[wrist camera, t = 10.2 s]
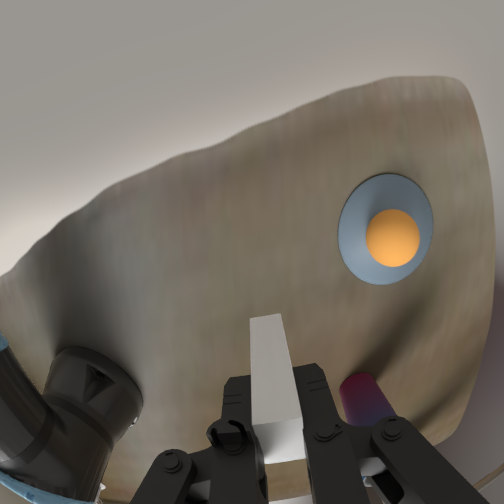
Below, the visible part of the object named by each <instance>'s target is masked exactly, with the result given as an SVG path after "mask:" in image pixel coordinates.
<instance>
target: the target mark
mask: <svg viewBox="0 0 504 504" xmlns="http://www.w3.org/2000/svg"><path fill="white" fill-rule="evenodd" d="M388 209H396V210H401V211H403V212H405V213H407V214H408V215H409V216H410V217H411V218H412V219H413V220H414V221H415V223H416V225H417V227H418V230H419V234H420V243H419V247H418V250H417V252H416V254H415V255H414V257H413V258H412V259H411V260H410V261H409V262H407V263H406V264H404V265H401V266H397V267H389V266H385V265H382V264H380V263H379V262H377V261H376V260H375V259H374V258H373V257H372V256H371V254H370V252H369V250H368V248H367V245H366V231H367V227H368V225H369V223H370V221H371V220H372V219H373V217H374V216H376V215H377V214H378V213H380V212H382V211H384V210H388ZM432 233H433V216H432V211H431V207H430V204H429V202H428V200H427V198H426V196H425V194H424V193H423V191H422V190H421V189H420V188H419V187H418V186H417V185H416V184H415V183H414V182H412V181H411V180H409V179H407V178H405V177H403V176H400V175H394V174H384V175H378V176H376V177H373V178H371V179H369V180H367V181H365V182H364V183H362V184H361V185H360V186H359V187H358V188H357V189H356V190H355V191H354V192H353V193H352V194H351V196H350V197H349V199H348V200H347V202H346V204H345V206H344V208H343V210H342V213H341V216H340V220H339V225H338V243H339V249H340V252H341V255H342V258H343V260H344V262H345V263H346V265H347V267H348V268H349V269H350V270H351V272H352V273H353V274H355V275H356V276H357V277H358V278H360V279H361V280H363V281H365V282H368V283H371V284H377V285H386V284H391V283H394V282H397V281H399V280H402V279H403V278H405V277H407V276H408V275H409V274H411V273H412V272H413V271H414V270H415V269H416V268H417V267H418V266H419V264H420V263H421V262H422V260H423V259H424V257H425V255H426V253H427V251H428V248H429V246H430V243H431V239H432Z"/></svg>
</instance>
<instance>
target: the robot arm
mask: <svg viewBox="0 0 504 504" xmlns="http://www.w3.org/2000/svg"><path fill="white" fill-rule="evenodd" d="M250 350H251V375H247V376H239V377H230V378H229V380H228V381H227V383H226V384H225V386H224V394H223V396H224V398H223V405H222V416H221V419H219V420H217V421H215V422H213V424H212V425H211V426H210V427H209V428H208V430H207V433H206V435H207V437H208V439H209V440H210V442H211V444H212V446H210V447H209V448H207V449H205V450H202V451H198V452H195V453H191V454H187V453H186V452H184V451H182V450H179V449H171V450H166V451H164V452H162V453H161V454H159V455H158V456H157V457H156V459H155V460H154V462H153V464H152V465H151V467H150V469H149V471H148V472H147V474H146V476H145V478H144V479H143V481H142V483H141V485H140V486H139V488H138V490H137V492H136V493H135V495H134V497H133V498H132V500H131V502H130V504H269V501H268V486H267V476H266V473H265V466H264V462H265V464H270V463H278V462H285V461H292V460H298V459H303V458H306V461H307V469H308V478H309V482H310V487H311V493H312V499H313V504H370V501H369V498H368V495H367V491H366V488H365V485H364V482H363V478H362V476H365V477H366V478H367V480H368V481H369V482H370V484H371V485H372V487H373V488H374V489H375V491H376V492H377V494H378V495H379V496H380V498H381V499H382V500H383V502H384V503H385V504H490V503H489V502H488V501H487V500H486V499H485V498H484V497H482V495H481V494H480V493H479V492H478V491H477V490H476V489H475V488H474V487H473V486H472V485H471V484H470V483H469V482H468V481H467V480H466V479H465V478H464V477H463V476H462V475H461V474H460V473H459V472H458V471H457V470H456V469H455V468H454V467H453V466H452V465H451V464H450V463H449V462H448V461H447V460H446V459H445V458H444V457H443V456H442V455H441V454H440V453H439V452H438V451H437V450H436V449H435V448H434V447H433V446H432V445H431V444H430V443H429V442H428V441H427V440H426V439H425V437H424V436H423V435H422V434H421V433H420V432H419V431H418V430H417V429H416V428H415V427H414V426H413V425H412V424H411V423H410V422H409V421H408V420H406V419H405V418H403V417H399V416H387V417H385V418H382V419H380V420H379V421H378V422H377V423H375V425H374V426H353V425H350V424H347V423H346V422H344V421H343V420H342V419H341V418H340V417H339V415H338V412H337V409H336V406H335V404H334V401H333V398H332V395H331V392H330V389H329V386H328V383H327V381H326V377H325V374H324V371H323V369H321V368H320V367H319V366H318V365H317V364H316V363H313V364H308V365H303V366H298V367H292V365H291V360H290V355H289V351H288V346H287V341H286V337H285V332H284V328H283V323H282V318H281V314H280V313H279V314H273V315H267V316H261V317H255V318H250ZM142 407H143V401H142V397H141V394H140V392H139V390H138V388H137V386H136V385H135V383H134V382H133V381H132V379H131V378H130V377H129V376H128V375H127V374H126V373H125V372H124V371H123V370H122V369H121V368H120V367H119V366H117V365H116V364H115V363H113V362H112V361H111V360H109V359H108V358H106V357H104V356H102V355H101V354H99V353H97V352H94V351H92V350H89V349H86V348H82V347H68V348H65V349H63V350H62V351H61V352H60V353H59V354H58V355H57V356H56V357H55V359H54V360H53V361H52V363H51V366H50V372H49V374H48V377H47V381H46V384H45V388H44V391H43V394H42V396H41V394H40V393H39V392H38V390H37V389H36V387H35V386H34V385H33V383H32V382H31V380H30V379H29V377H28V376H27V374H26V373H25V371H24V370H23V368H22V367H21V365H20V364H19V362H18V360H17V359H16V357H15V355H14V354H13V352H12V350H11V349H10V347H9V343H8V341H7V339H6V338H5V337H4V336H3V335H2V333H1V332H0V483H2V484H3V485H5V486H6V487H7V488H9V489H10V490H12V491H13V492H15V493H17V494H18V495H20V496H21V497H23V498H25V499H26V500H28V501H30V502H31V503H34V504H94V503H95V499H96V496H97V492H98V489H99V486H100V483H101V480H102V478H103V475H104V472H105V469H106V466H107V463H108V460H109V458H110V455H111V452H112V450H113V447H114V445H115V443H116V442H117V441H118V440H119V439H120V438H121V437H122V436H123V435H124V434H125V432H126V431H127V429H129V428H131V427H132V426H133V425H134V424H135V423H136V422H137V420H138V418H139V416H140V413H141V410H142Z"/></svg>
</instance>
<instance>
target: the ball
mask: <svg viewBox="0 0 504 504" xmlns="http://www.w3.org/2000/svg"><path fill="white" fill-rule="evenodd" d="M419 243H420V234H419V230H418V227H417V225H416V223H415V221H414V220H413V219H412V218H411V217H410V216H409V215H408V214H407V213H405V212H403V211H401V210H396V209H388V210H384V211H382V212H380V213H378V214H377V215H376V216H374V217H373V219H372V220H371V221H370V223H369V225H368V227H367V231H366V245H367V248H368V250H369V252H370V254H371V256H372V257H373V258H374V259H375V260H376V261H377V262H379V263H380V264H382V265H385V266H389V267H397V266H401V265H404V264H406V263H407V262H409V261H410V260H411V259H412V258H413V257H414V255H415V254H416V252H417V250H418V247H419Z"/></svg>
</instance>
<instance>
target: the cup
mask: <svg viewBox="0 0 504 504" xmlns="http://www.w3.org/2000/svg"><path fill="white" fill-rule="evenodd" d="M339 392H340V396H341V400H342V403H343V407H344V411H345V414H346V418H347V422H348V424H350V425H353V426H374V425H375V423H377V422H378V421H379V420H380V419H382V418H385V417H387V416H397V415H396V413H395V411H394V410H393V408H392V407H391V405H390V403H389V402H388V400H387V399H386V397H385V396H384V394H383V393H382V391H381V389H380V388H379V386H378V385H377V383H376V382H375V380H374V379H373V377H372V376H371V375H370V374H368V373H358V374H355V375H352V376H350V377H349V378H347V379H346V380H345V381H344V382H343V383H342V385H341V386H340V389H339ZM362 478H363V482H364V485H365V486H370V487H371V486H372V485H371V484H370V482H369V481H368V480H367V478H366V477H365V476H362Z"/></svg>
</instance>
